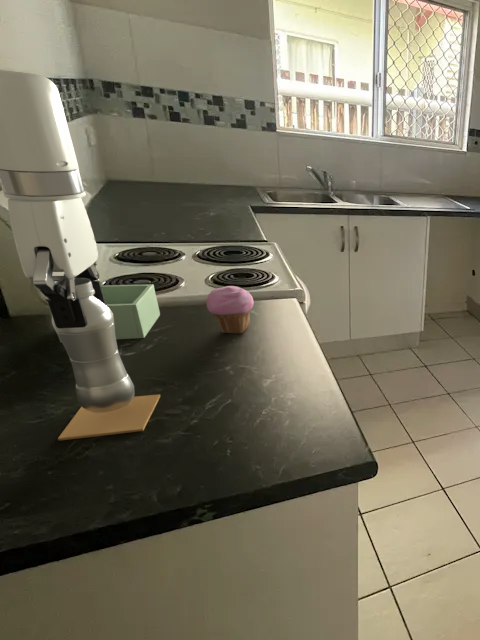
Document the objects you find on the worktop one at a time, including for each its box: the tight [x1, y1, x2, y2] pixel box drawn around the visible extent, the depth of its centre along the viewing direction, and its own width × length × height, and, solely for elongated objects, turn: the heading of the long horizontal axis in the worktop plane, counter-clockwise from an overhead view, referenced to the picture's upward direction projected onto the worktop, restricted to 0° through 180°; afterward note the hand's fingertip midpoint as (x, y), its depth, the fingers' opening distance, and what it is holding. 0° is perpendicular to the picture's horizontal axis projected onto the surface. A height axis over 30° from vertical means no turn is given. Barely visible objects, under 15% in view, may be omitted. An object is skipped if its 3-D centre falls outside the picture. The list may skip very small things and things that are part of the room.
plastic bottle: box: [51, 278, 135, 413], centre depth 68 cm, size 6×7×20 cm
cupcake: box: [206, 285, 255, 335], centre depth 102 cm, size 9×9×10 cm
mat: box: [57, 393, 161, 442], centre depth 73 cm, size 10×10×1 cm
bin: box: [48, 283, 161, 344], centre depth 98 cm, size 14×13×7 cm
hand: (82, 315), depth 66 cm, fingers closed on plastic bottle, 6 cm apart
